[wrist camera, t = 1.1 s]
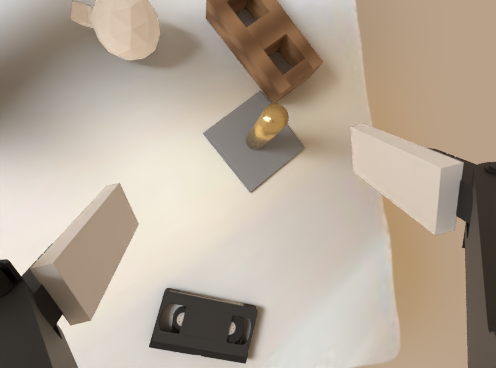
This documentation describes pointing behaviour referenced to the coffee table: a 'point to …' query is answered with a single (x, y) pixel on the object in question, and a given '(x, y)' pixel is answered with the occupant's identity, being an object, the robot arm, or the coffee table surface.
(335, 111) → the coffee table surface
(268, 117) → the brass peg
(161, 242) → the coffee table surface
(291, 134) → the slate rubber mat
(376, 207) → the coffee table surface
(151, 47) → the beige faceted ovoid
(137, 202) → the coffee table surface
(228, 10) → the walnut hole block
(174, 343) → the vhs tape
